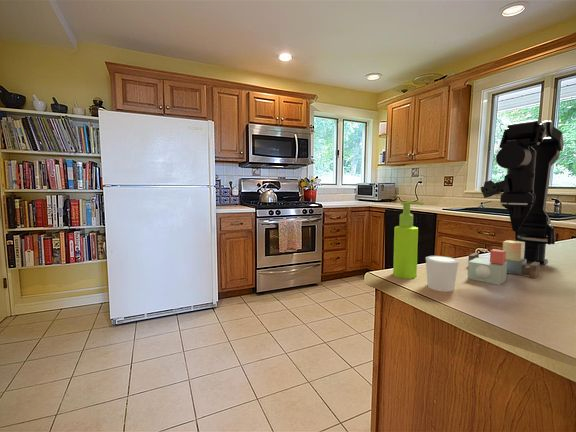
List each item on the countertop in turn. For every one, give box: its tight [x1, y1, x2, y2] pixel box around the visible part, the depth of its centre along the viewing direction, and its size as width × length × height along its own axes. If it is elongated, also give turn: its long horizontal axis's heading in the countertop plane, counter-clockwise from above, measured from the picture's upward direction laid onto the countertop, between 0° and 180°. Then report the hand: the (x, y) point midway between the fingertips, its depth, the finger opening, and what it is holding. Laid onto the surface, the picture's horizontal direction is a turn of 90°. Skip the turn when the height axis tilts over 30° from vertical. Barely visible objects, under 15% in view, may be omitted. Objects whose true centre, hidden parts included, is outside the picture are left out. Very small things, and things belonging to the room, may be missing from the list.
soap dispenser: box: [392, 201, 424, 279], centre depth 77 cm, size 6×7×20 cm
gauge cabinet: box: [467, 257, 508, 286], centre depth 74 cm, size 6×7×4 cm
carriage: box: [502, 239, 528, 275], centre depth 79 cm, size 5×5×8 cm
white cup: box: [425, 255, 460, 293], centre depth 68 cm, size 7×7×7 cm
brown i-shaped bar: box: [467, 252, 541, 279], centre depth 81 cm, size 15×5×3 cm, turn 40°
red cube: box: [489, 248, 506, 264], centre depth 72 cm, size 3×3×3 cm
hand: (516, 229), depth 77 cm, fingers open, 9 cm apart
